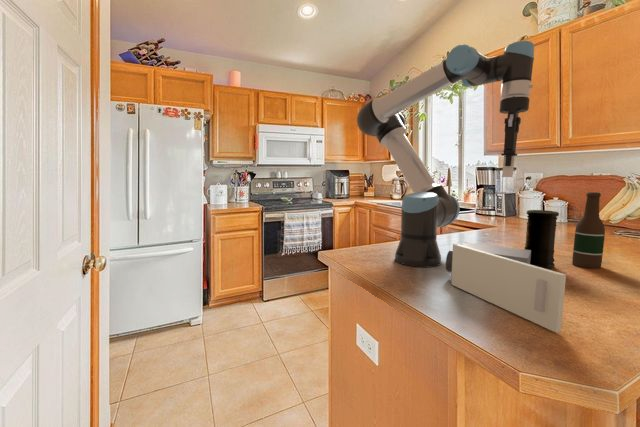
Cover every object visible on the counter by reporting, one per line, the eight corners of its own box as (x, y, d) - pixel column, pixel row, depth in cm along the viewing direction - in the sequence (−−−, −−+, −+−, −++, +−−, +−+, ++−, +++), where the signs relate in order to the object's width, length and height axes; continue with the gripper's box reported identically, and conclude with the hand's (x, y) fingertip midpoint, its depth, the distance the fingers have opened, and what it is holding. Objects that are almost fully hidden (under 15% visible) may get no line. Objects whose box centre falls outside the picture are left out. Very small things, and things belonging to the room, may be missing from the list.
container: (543, 262, 106) (548, 209, 104) (561, 269, 97) (566, 212, 95) (516, 261, 107) (520, 209, 105) (530, 269, 98) (535, 212, 96)
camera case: (528, 287, 82) (531, 250, 81) (524, 299, 74) (527, 258, 73) (452, 273, 94) (454, 241, 92) (442, 282, 86) (444, 247, 84)
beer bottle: (595, 270, 96) (603, 193, 93) (566, 264, 103) (573, 192, 100) (606, 267, 100) (615, 192, 97) (577, 261, 107) (584, 191, 104)
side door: (560, 331, 58) (566, 274, 57) (551, 333, 57) (556, 275, 56) (453, 283, 84) (455, 243, 83) (446, 284, 83) (448, 244, 82)
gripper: (528, 92, 86) (519, 177, 89) (530, 101, 96) (523, 177, 99) (497, 95, 90) (490, 176, 93) (503, 103, 101) (496, 176, 104)
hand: (507, 177), depth 96 cm, fingers closed
